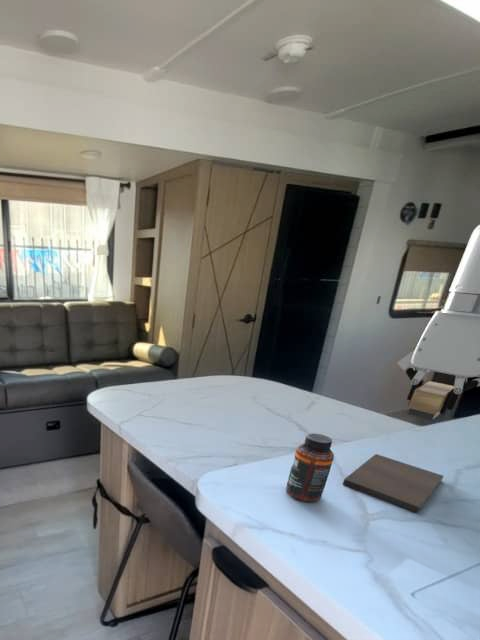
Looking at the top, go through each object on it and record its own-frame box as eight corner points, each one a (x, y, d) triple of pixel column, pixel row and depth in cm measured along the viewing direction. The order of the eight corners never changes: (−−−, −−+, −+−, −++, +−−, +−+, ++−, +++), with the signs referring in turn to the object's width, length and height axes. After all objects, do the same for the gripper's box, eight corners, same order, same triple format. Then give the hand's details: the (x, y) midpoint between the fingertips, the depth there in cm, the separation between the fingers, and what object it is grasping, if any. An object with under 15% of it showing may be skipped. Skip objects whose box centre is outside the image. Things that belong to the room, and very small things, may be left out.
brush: (419, 404, 80) (429, 381, 78) (445, 410, 77) (456, 386, 75) (405, 414, 74) (415, 389, 72) (432, 421, 71) (444, 395, 69)
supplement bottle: (327, 497, 73) (346, 440, 68) (309, 507, 70) (328, 448, 65) (296, 482, 77) (312, 428, 72) (278, 491, 74) (293, 434, 69)
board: (373, 458, 88) (375, 453, 88) (441, 481, 80) (443, 475, 80) (342, 484, 77) (344, 478, 77) (416, 513, 69) (419, 507, 69)
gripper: (543, 311, 64) (489, 418, 72) (418, 299, 75) (383, 393, 83) (539, 313, 60) (482, 427, 68) (406, 300, 71) (370, 399, 79)
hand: (427, 407), depth 75 cm, fingers closed on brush, 4 cm apart
